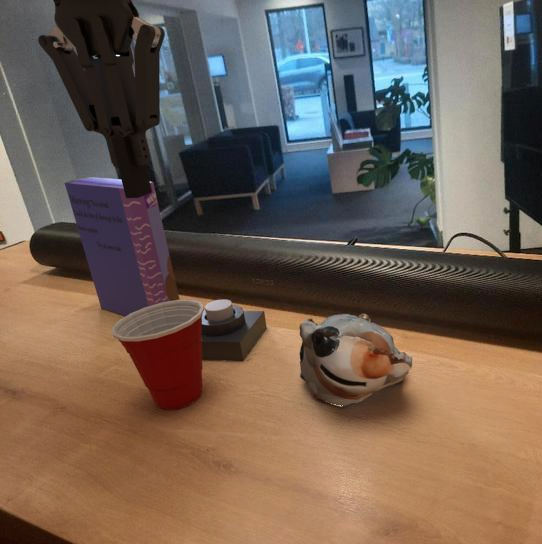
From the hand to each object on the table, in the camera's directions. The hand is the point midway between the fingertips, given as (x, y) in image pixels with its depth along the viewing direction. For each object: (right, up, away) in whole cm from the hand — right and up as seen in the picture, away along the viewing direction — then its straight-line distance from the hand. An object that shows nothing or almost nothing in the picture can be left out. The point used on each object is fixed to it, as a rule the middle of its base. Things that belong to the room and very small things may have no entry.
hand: (139, 195), depth 55 cm
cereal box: (-15, -16, +35) cm, 41 cm away
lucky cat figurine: (+25, -24, +9) cm, 35 cm away
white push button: (+3, -15, +20) cm, 26 cm away
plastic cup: (+1, -25, +9) cm, 27 cm away
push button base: (+3, -20, +22) cm, 30 cm away
